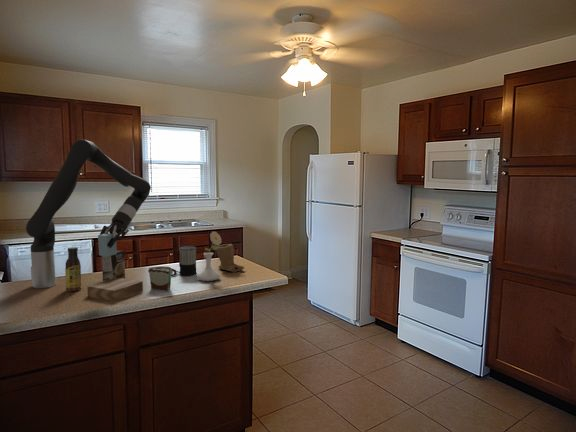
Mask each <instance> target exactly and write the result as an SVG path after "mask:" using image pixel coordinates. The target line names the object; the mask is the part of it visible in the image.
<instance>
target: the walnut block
mask: <svg viewBox="0 0 576 432" xmlns="http://www.w3.org/2000/svg"><path fill="white" fill-rule="evenodd" d="M143 283H144V282H143V281H142V280H135V279H128V278H125V279H123V278H114V279H110V280H107V281H103V280H102V281H100V282H97V283H93V284H89V285H87V297H88V298H95V299H100V300H107V301H111V302H117V301H119V300H123V299H125V298H127V297H131V296H133V295H136V294H139V293H142V292H144V285H143Z"/></svg>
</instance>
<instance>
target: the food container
mask: <svg viewBox="0 0 576 432" xmlns="http://www.w3.org/2000/svg"><path fill="white" fill-rule="evenodd" d="M171 268H172V267H170V266H152V267H149V268H148V270H147V272H148V274H149V281H150V290H155V291H163V292H170V291H171V284H172V282H171V281H172V276H171V274H174V272H173V271H172V269H173V268H172V269H171Z"/></svg>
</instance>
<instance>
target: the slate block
mask: <svg viewBox="0 0 576 432" xmlns="http://www.w3.org/2000/svg"><path fill="white" fill-rule="evenodd" d="M113 235H114V234H110V233H109V234H102V235H100V234H98V235H97V240H98V241H97V245H98V244H99V245H98V254H99V256H101V257H102V256H111V255H115V254H117V249H118V248H117V241H116V242H115V243H114V245H113V246H112V247H111V248H109V247H108V246H107V244H108V242H109V241H110V239H111V238H112V236H113Z"/></svg>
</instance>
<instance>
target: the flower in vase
mask: <svg viewBox="0 0 576 432" xmlns="http://www.w3.org/2000/svg"><path fill="white" fill-rule="evenodd" d="M209 238H210V241H211V247H210V248H207V247H206V246H205V247H204V250H205V251H208V252H204V253H203V256H204V257H205V262H206V265H205V268H204V269H203V270H202V271H201V272H199V274H198V275H197V277H196V278H197V280H198V281H202V282H212V281H216V280H219V279H220V277H221V275H220V274H219V272H217V271H216V270H215V269H214V268H213V267H212V264H211V263H212V256H213V255H214V252H211V250H213V251H216V250H217V249H218V247H217V246H220V245H222V240H223V239H222V238H221V235H220V234H218V232H217V231H211V233H210V234H209Z"/></svg>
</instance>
